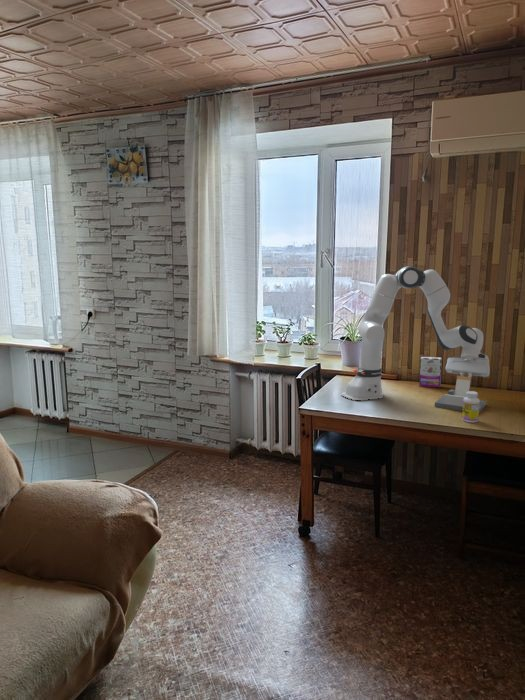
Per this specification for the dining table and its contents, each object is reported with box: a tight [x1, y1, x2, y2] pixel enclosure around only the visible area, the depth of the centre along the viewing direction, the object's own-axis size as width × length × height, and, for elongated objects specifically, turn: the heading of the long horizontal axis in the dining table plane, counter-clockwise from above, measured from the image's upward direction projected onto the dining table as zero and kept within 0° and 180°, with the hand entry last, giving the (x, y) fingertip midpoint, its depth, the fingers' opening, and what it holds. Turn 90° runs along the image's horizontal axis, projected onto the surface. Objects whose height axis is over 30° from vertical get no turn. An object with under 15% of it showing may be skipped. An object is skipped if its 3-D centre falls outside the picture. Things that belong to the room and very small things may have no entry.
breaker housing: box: [434, 389, 487, 414], centre depth 240 cm, size 16×20×7 cm
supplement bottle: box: [461, 390, 480, 424], centre depth 218 cm, size 7×7×13 cm
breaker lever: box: [454, 374, 472, 397], centre depth 241 cm, size 2×6×12 cm, turn 55°
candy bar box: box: [418, 356, 443, 389], centre depth 277 cm, size 11×5×16 cm, turn 68°
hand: (464, 381), depth 242 cm, fingers closed, pressing on breaker lever
